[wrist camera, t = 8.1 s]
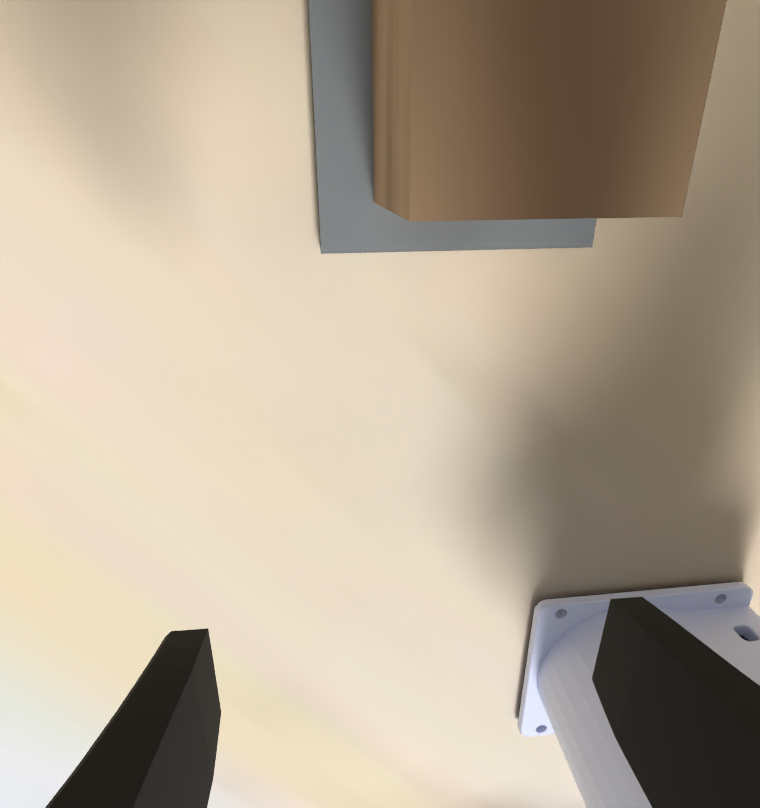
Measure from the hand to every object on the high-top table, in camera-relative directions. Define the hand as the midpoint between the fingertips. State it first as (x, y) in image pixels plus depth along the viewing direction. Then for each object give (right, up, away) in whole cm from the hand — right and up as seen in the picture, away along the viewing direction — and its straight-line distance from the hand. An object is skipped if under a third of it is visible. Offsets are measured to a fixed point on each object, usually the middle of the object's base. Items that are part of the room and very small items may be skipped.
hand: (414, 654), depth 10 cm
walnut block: (+2, +12, +4) cm, 13 cm away
